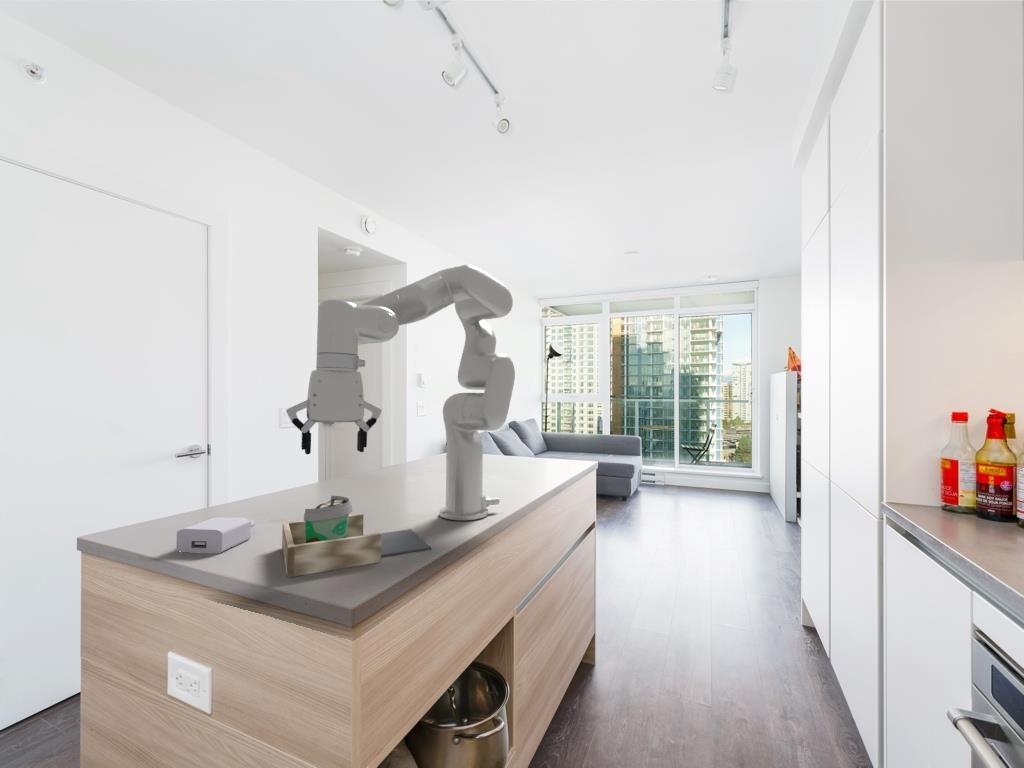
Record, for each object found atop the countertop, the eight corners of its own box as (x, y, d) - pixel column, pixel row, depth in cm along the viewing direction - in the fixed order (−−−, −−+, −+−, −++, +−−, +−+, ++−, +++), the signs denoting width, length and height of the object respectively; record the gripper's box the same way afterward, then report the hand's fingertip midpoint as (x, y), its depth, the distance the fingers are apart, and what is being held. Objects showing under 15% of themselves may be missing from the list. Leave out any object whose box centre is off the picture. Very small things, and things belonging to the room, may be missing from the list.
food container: (336, 566, 81) (337, 510, 81) (302, 565, 81) (303, 509, 81) (360, 544, 93) (361, 495, 94) (331, 543, 93) (332, 495, 94)
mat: (410, 530, 103) (410, 529, 103) (431, 548, 91) (431, 546, 91) (365, 537, 98) (365, 535, 98) (380, 557, 86) (380, 555, 86)
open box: (362, 536, 98) (362, 513, 98) (381, 561, 83) (381, 534, 83) (282, 548, 90) (282, 522, 91) (287, 577, 76) (288, 547, 76)
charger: (268, 532, 102) (221, 554, 87) (229, 531, 102) (175, 553, 88) (268, 510, 102) (222, 530, 87) (229, 509, 103) (176, 528, 88)
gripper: (377, 367, 96) (375, 448, 95) (286, 363, 87) (283, 452, 87) (386, 365, 89) (384, 452, 89) (289, 360, 81) (286, 456, 80)
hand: (334, 452), depth 88 cm, fingers open, 9 cm apart
